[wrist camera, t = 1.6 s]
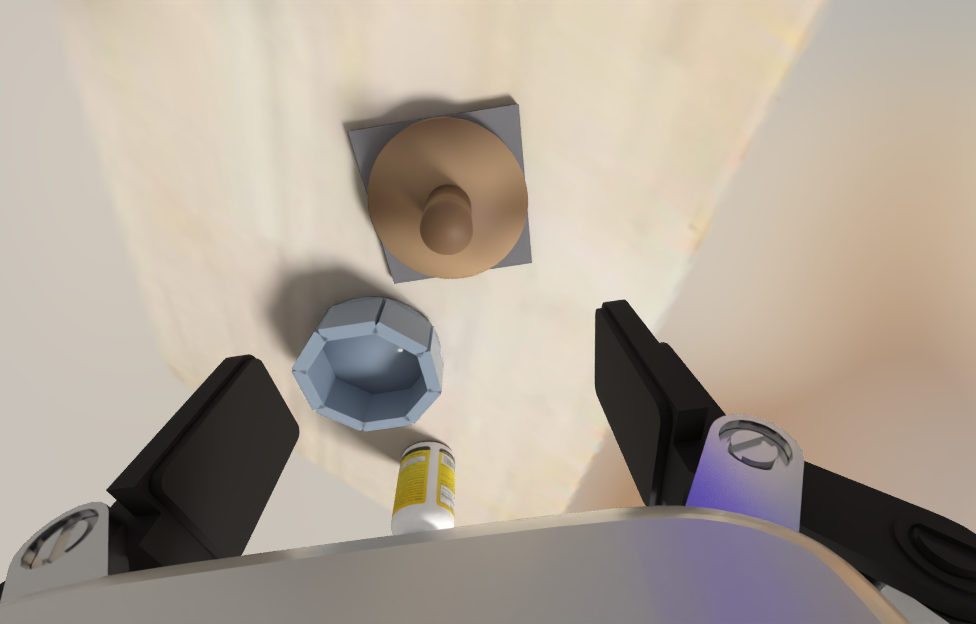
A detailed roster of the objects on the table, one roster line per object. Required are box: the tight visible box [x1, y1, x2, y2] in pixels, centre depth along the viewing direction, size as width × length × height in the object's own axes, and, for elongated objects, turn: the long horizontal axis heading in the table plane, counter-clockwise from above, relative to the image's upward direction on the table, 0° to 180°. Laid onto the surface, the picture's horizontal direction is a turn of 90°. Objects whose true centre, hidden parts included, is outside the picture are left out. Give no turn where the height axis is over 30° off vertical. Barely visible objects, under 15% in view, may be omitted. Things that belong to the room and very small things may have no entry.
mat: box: [348, 104, 532, 284], centre depth 24 cm, size 10×10×1 cm
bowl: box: [292, 297, 444, 432], centre depth 29 cm, size 10×10×4 cm
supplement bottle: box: [391, 442, 455, 535], centre depth 34 cm, size 5×5×10 cm
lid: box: [368, 117, 528, 279], centre depth 22 cm, size 10×10×5 cm
